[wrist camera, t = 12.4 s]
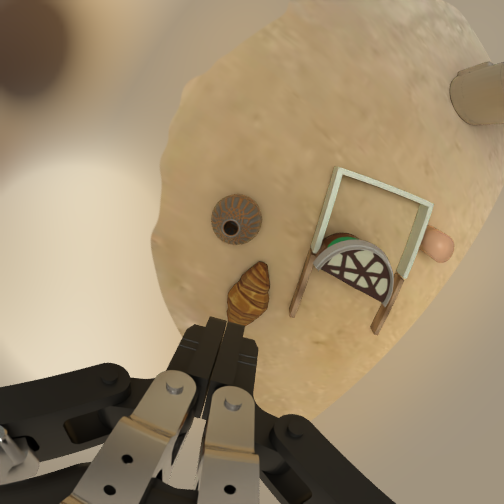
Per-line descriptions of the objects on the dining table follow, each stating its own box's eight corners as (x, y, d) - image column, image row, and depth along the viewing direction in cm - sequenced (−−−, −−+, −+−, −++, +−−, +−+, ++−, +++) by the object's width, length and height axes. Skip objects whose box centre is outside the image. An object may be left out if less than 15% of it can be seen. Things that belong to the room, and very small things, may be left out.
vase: (213, 230, 44) (198, 247, 35) (223, 186, 41) (209, 194, 33) (256, 241, 44) (251, 261, 35) (267, 198, 41) (265, 208, 33)
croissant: (252, 331, 49) (250, 348, 45) (217, 318, 49) (211, 334, 44) (284, 268, 45) (284, 281, 40) (244, 252, 45) (240, 263, 40)
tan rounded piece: (421, 221, 40) (438, 231, 34) (439, 229, 40) (457, 239, 34) (412, 246, 41) (428, 258, 36) (430, 253, 41) (447, 265, 36)
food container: (388, 248, 42) (413, 272, 32) (368, 279, 44) (387, 308, 34) (326, 210, 41) (341, 225, 32) (306, 244, 43) (314, 269, 34)
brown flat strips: (309, 249, 43) (311, 254, 41) (398, 274, 43) (404, 280, 41) (289, 308, 47) (289, 316, 44) (373, 327, 47) (377, 335, 44)
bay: (334, 166, 39) (338, 167, 36) (425, 200, 39) (434, 203, 36) (310, 246, 43) (312, 252, 40) (399, 271, 43) (406, 278, 40)
